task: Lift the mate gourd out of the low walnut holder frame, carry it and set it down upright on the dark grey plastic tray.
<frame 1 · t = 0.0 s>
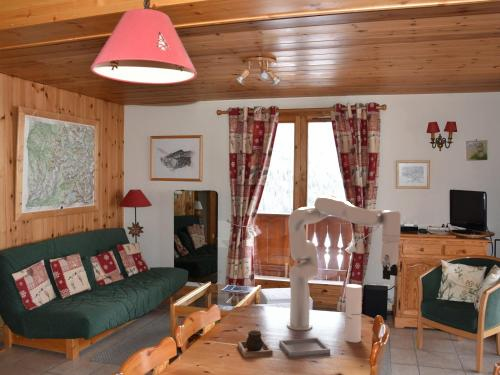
hand: (390, 277, 198), 31 cm above the table, tool pointing down, fingers open, 9 cm apart
mate gourd: (254, 351, 193), on the table
tray: (304, 350, 194), on the table
cylindrical container: (352, 340, 208), on the table
holder: (254, 350, 193), on the table
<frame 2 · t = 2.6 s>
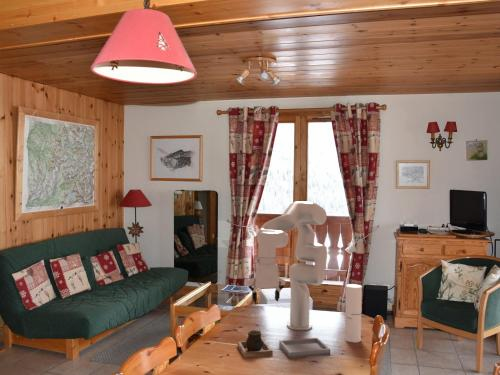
hand: (265, 300, 193), 22 cm above the table, tool pointing down, fingers open, 9 cm apart
nothing on the table moved.
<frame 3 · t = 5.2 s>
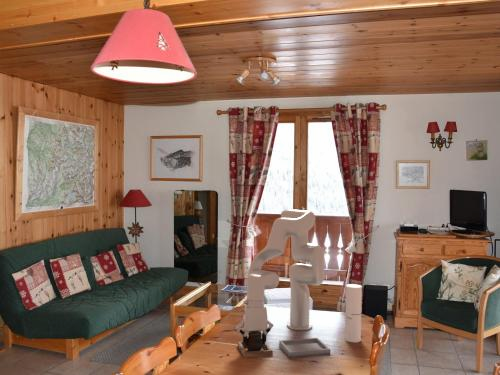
hand: (254, 343, 193), 3 cm above the table, tool pointing down, fingers closed on mate gourd, 7 cm apart
mate gourd: (254, 351, 193), on the table, touching gripper
everything else where it was.
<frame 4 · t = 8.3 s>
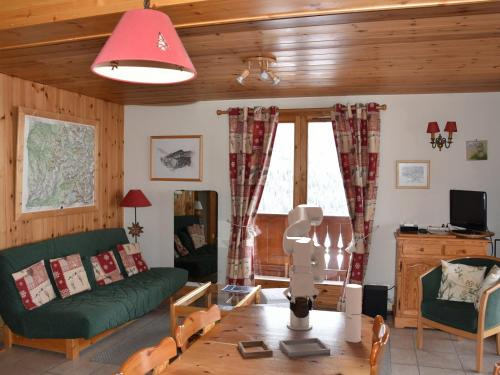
hand: (301, 309, 194), 17 cm above the table, tool pointing down, fingers closed on mate gourd, 7 cm apart
mate gourd: (301, 317, 194), point 14 cm above the table, touching gripper
everything else where it was.
when the fingers open (5 cm above the table, at t = 11.4 s): mate gourd drops 1 cm, resting on tray.
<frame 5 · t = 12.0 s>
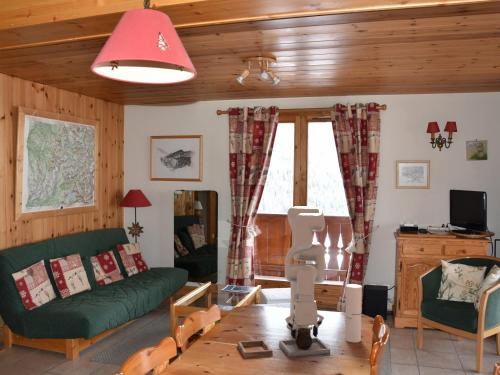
hand: (304, 337, 194), 6 cm above the table, tool pointing down, fingers open, 9 cm apart
mate gourd: (304, 348, 194), point 1 cm above the table, touching tray
everything else where it was.
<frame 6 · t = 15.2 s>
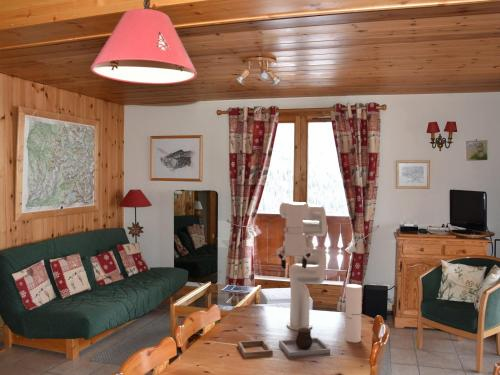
hand: (294, 268, 205), 33 cm above the table, tool pointing down, fingers open, 9 cm apart
nothing on the table moved.
at the end: mate gourd inside the target area on the tray (0.2 cm from its centre), point 0.8 cm above the tray's base; mate gourd tilted 0°; the gripper is holding nothing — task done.
